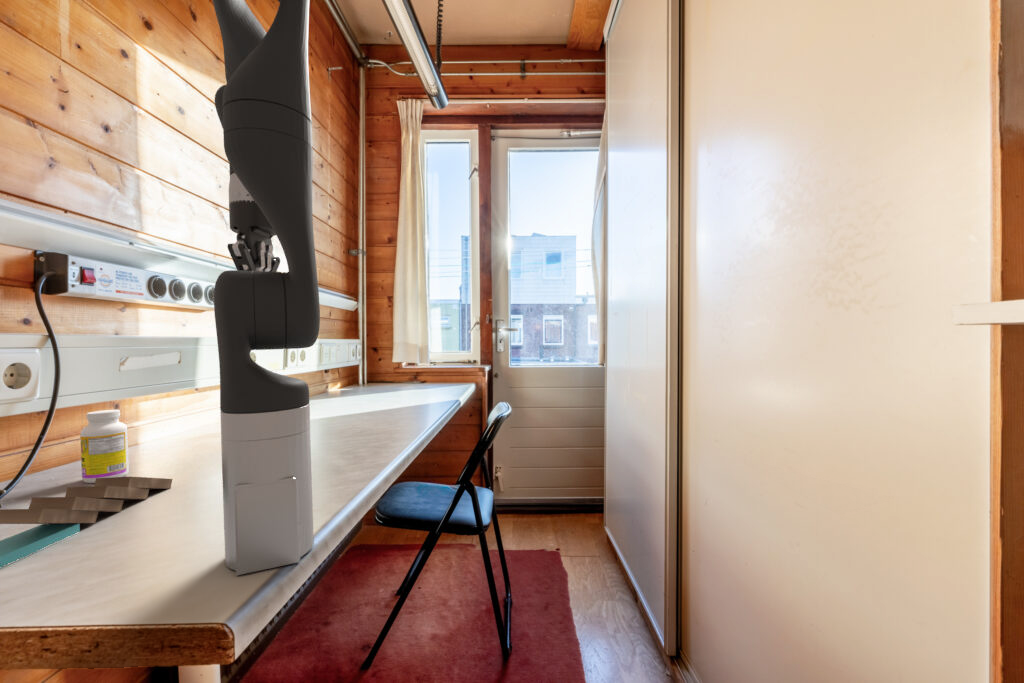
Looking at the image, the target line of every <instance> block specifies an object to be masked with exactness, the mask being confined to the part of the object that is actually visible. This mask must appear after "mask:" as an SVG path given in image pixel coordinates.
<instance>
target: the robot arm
mask: <svg viewBox="0 0 1024 683" xmlns="http://www.w3.org/2000/svg"><path fill="white" fill-rule="evenodd" d="M276 1H278V2H279V5H278V9H277V12H276V13H275V17H274V19H273V22H272V23H271V25H270V27H269V29H268V30H267V31H266V30H265V28H264V27H263V25H262V24H261V23H260V21H259V19H257V17H256V16H255V14H254V12H253V11H252V10H251V8H250V7H249V6H248V4H247V2H246V1H245V0H212V1H211V2H212V5H213V8H214V12H215V16H216V20H217V22H218V27H219V30H220V36H221V40H222V47H223V60H224V71H225V74H224V75H225V81H226V84H222V85H221V86H220V87H219V88H218V89H217V90H216V92H215V95H214V107H215V110H216V114H217V117H218V119H219V122H220V125H221V128H222V130H223V131H222V132H223V148H224V149H223V150H224V154H225V156H226V158H227V161H228V164H229V181H228V182H229V184H228V211H229V212H228V213H229V215H228V217H229V229H230V230H231V231H232V232H233V233H236V234H237V235H236V241H235V243H227V250H228V251H229V255H230V257H231V259H232V261H233V263H234V266H235V269H236V270H234V269H230V270H224V271H222V272H220V274H219V275H218V277H217V278H216V281H215V283H214V288H213V289H214V290H213V310H214V321H215V330H216V338H217V340H216V341H217V350H218V351H217V352H218V360H219V393H220V394H219V397H220V398H219V399H220V400H219V404H220V406H219V407H220V408H219V409H220V437H221V439H220V442H221V444H220V445H221V469H222V470H221V473H222V505H223V506H222V507H223V529H224V530H223V531H224V561H225V565H226V567H228V568H229V569H231V570H234V571H235V576H241V575H245V574H250V573H256V572H261V571H263V570H268V569H273V568H278V567H279V568H280V567H282V566H287V565H292V564H296V563H300V561H301V558H302V557H303V556H304V555H306V554H307V553H308V552H310V551H311V550H312V548H313V546H314V544H315V543H314V510H313V507H314V506H313V481H312V480H313V479H312V478H313V477H312V476H313V474H312V448H311V446H312V445H311V442H312V441H311V412H310V411H311V408H310V405H311V404H310V389H309V388H310V387H309V385H308V383H307V382H306V381H305V380H303V379H300V378H297V377H293V376H292V377H291V376H287V375H284V374H279V373H277V372H273V371H271V370H269V369H266V368H265V367H263V366H261V365H259V364H258V363H257V362H255V360H253V359H252V357H251V351H262V350H263V351H265V350H269V351H270V350H284V349H285V350H290V349H294V350H295V349H307V348H310V347H313V346H314V344H315V343H316V342H317V339H318V337H319V333H320V325H321V324H320V322H321V317H320V316H321V311H320V309H321V306H320V305H321V304H320V296H319V295H320V292H319V280H318V271H317V268H318V267H317V260H316V259H317V258H316V257H317V256H316V248H315V247H316V246H315V237H314V236H315V235H314V223H313V220H314V219H313V166H314V165H313V164H314V163H313V152H314V151H313V121H312V108H311V107H312V105H311V94H310V93H311V90H310V72H309V69H310V68H309V28H310V27H309V26H310V25H309V24H310V0H276ZM274 236H276V237H277V239H278V241H279V244H280V246H281V248H282V251H283V253H284V256H285V260H286V264H287V268H288V271H287V272H282V271H278V268H279V266H280V263H281V259H280V257H278V256H276V257H275V256H274V253H273V250H274V247H273V246H274V245H273V241H272V238H273V237H274Z"/></svg>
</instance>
